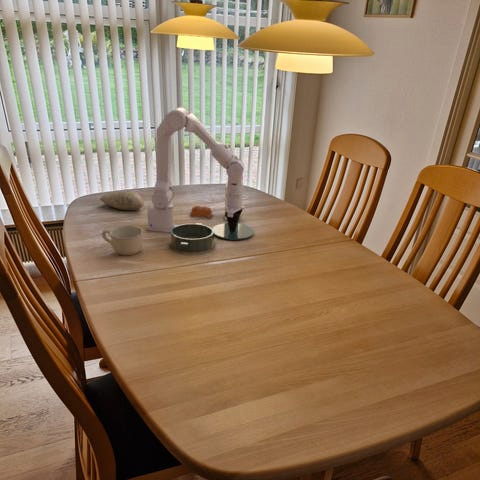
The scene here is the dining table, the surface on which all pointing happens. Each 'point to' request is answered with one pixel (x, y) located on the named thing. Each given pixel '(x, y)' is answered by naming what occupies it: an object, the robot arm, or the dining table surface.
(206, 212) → the bread
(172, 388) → the dining table surface
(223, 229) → the lid
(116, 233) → the teacup
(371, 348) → the dining table surface
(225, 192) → the white toy tower
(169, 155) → the robot arm
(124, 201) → the rock
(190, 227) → the pot
